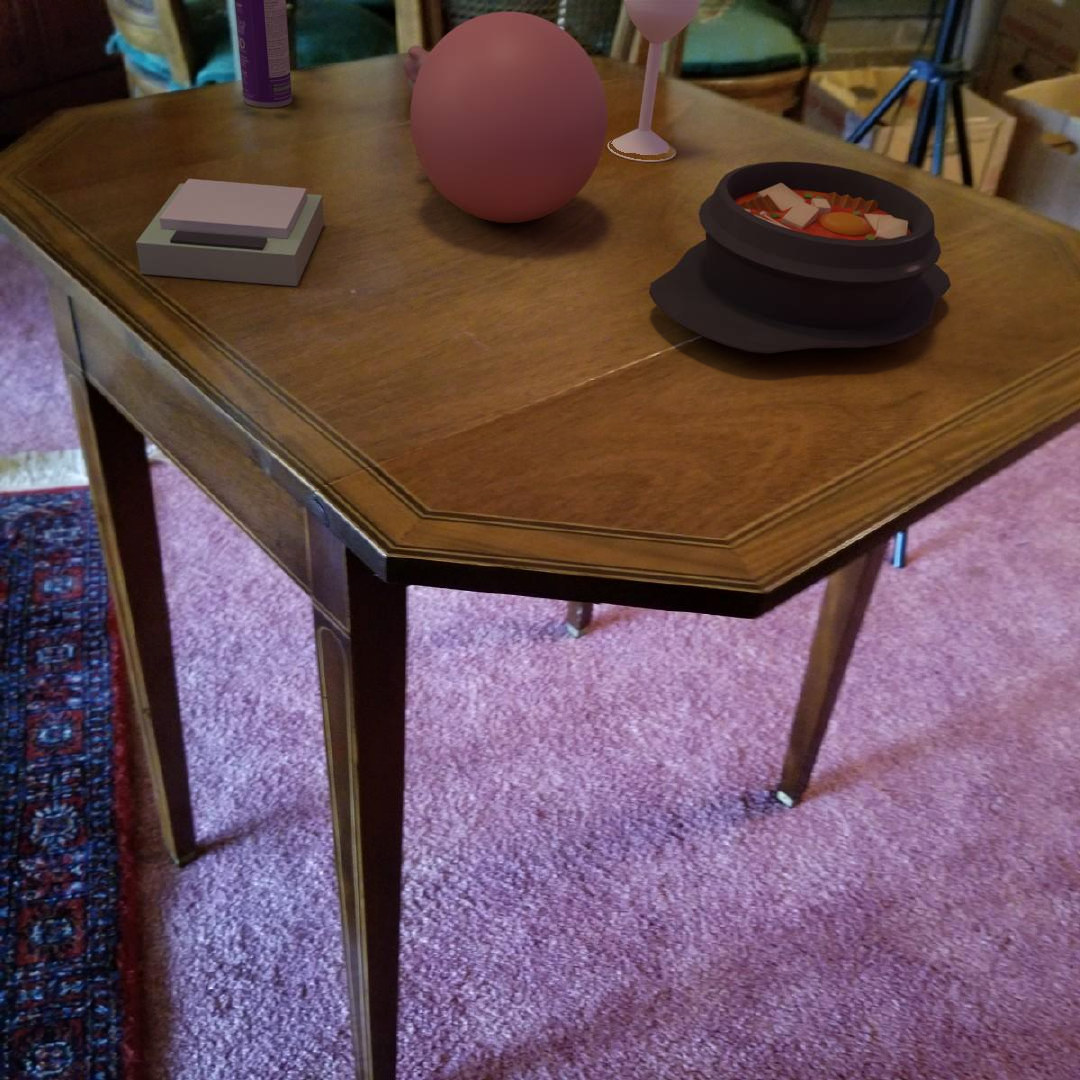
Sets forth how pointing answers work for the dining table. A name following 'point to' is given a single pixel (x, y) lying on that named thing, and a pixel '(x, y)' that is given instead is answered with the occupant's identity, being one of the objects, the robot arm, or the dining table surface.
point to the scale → (233, 233)
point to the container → (264, 52)
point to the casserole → (807, 261)
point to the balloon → (507, 116)
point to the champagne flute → (653, 67)
